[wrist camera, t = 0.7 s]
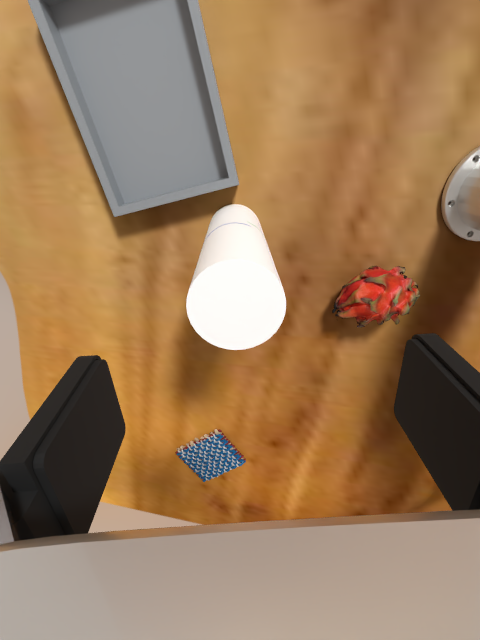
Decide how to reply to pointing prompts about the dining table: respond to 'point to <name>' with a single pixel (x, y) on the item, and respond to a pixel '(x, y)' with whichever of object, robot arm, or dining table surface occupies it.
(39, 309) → the dining table surface
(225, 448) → the woven mat
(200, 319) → the cylindrical container
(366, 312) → the dragon fruit
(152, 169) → the tray
